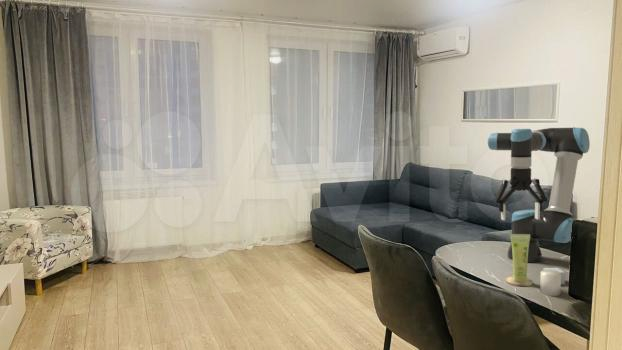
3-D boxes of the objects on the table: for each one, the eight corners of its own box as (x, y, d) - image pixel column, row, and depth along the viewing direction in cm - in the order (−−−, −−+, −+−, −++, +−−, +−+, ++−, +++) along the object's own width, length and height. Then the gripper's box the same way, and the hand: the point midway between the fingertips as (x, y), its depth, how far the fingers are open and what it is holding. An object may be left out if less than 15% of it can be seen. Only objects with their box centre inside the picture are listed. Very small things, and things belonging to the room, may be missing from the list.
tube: (519, 283, 184) (520, 236, 182) (509, 279, 189) (510, 233, 187) (529, 281, 186) (530, 234, 184) (519, 277, 191) (520, 231, 189)
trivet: (526, 277, 193) (526, 276, 193) (536, 286, 183) (536, 284, 183) (502, 278, 193) (502, 276, 193) (511, 286, 183) (511, 284, 183)
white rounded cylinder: (555, 289, 179) (555, 269, 178) (564, 296, 172) (564, 275, 171) (536, 289, 179) (537, 269, 178) (545, 296, 172) (545, 275, 171)
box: (557, 279, 190) (558, 267, 189) (564, 284, 184) (564, 272, 184) (542, 279, 190) (543, 267, 190) (549, 284, 185) (549, 272, 184)
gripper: (548, 165, 186) (547, 216, 188) (486, 167, 187) (485, 218, 189) (557, 167, 178) (556, 220, 181) (492, 169, 179) (492, 222, 182)
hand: (520, 219), depth 185 cm, fingers open, 13 cm apart
